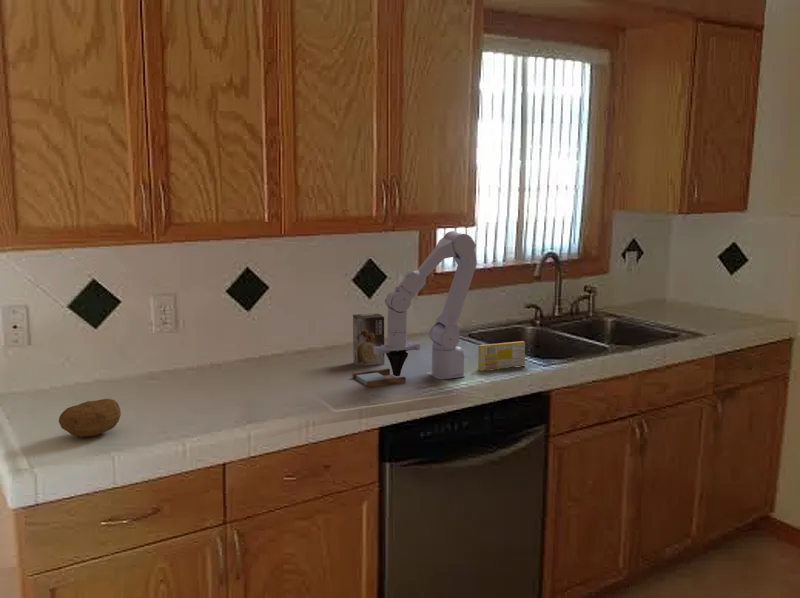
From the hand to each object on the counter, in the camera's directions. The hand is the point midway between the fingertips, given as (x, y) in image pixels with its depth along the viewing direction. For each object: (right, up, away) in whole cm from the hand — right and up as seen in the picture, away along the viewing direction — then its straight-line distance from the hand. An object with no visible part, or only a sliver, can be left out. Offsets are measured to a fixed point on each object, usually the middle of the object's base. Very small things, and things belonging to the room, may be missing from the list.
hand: (396, 375), depth 233 cm
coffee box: (-9, +2, +18) cm, 20 cm away
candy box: (+33, 0, +16) cm, 37 cm away
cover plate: (-7, -1, -3) cm, 8 cm away
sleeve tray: (-5, -2, -2) cm, 6 cm away
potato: (-72, -10, -50) cm, 88 cm away
